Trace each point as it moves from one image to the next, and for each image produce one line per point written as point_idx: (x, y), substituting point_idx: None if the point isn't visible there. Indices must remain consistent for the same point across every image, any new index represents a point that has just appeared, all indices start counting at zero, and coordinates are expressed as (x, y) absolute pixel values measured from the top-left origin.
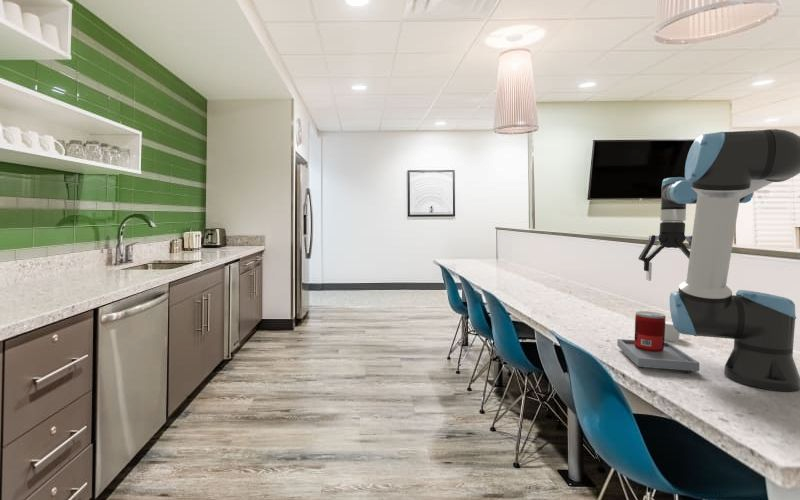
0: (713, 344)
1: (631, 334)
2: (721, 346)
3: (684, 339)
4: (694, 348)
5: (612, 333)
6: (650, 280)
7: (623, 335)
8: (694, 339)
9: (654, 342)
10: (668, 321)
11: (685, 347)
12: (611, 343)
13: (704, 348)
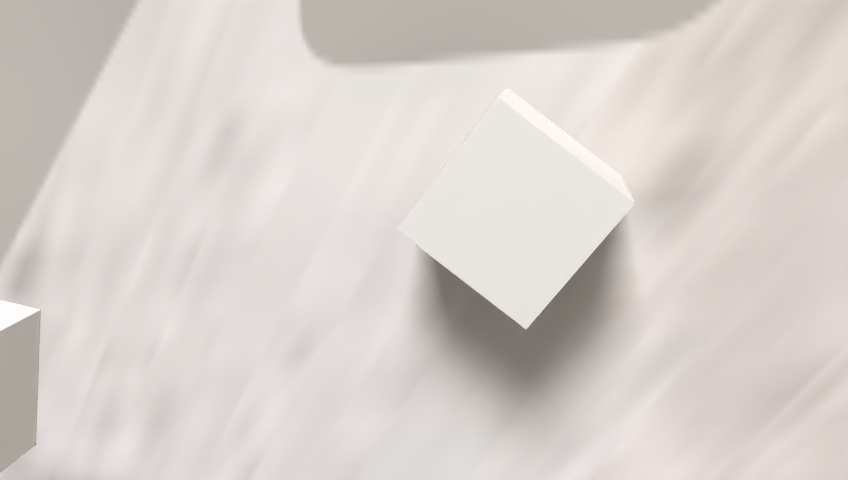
0: (789, 346)
1: (274, 65)
2: (808, 399)
3: (648, 204)
4: (542, 449)
5: (130, 45)
6: (22, 445)
7: (194, 107)
8: (743, 198)
9: None
10: (543, 154)
11: (492, 426)
12: None
13: (620, 449)
